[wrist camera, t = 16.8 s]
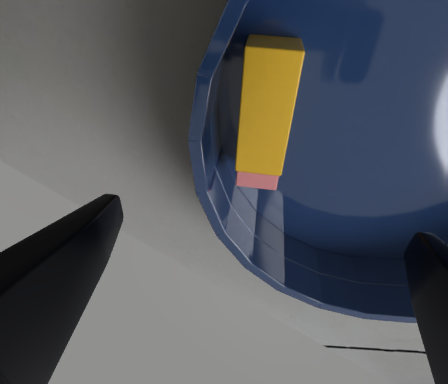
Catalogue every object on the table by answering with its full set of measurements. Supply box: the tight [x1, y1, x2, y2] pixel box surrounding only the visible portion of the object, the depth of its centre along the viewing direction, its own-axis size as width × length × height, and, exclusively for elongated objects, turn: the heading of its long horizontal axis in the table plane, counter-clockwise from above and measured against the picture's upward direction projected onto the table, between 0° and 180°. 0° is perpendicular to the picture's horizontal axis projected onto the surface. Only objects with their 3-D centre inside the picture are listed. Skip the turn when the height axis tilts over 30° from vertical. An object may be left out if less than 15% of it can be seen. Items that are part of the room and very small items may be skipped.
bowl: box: [188, 0, 448, 323], centre depth 14 cm, size 21×21×5 cm
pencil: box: [235, 34, 305, 190], centre depth 15 cm, size 7×2×2 cm, turn 177°
